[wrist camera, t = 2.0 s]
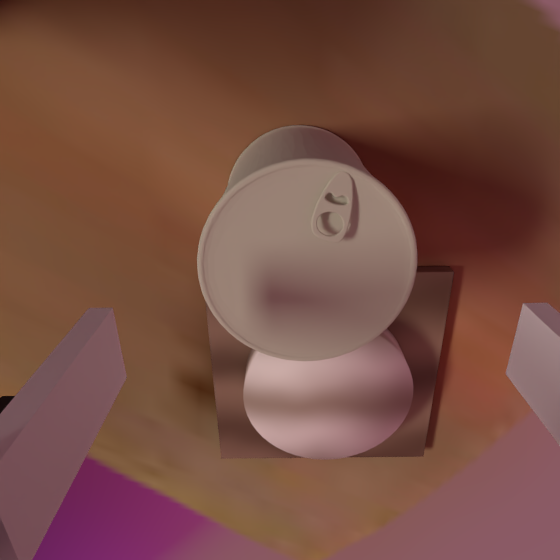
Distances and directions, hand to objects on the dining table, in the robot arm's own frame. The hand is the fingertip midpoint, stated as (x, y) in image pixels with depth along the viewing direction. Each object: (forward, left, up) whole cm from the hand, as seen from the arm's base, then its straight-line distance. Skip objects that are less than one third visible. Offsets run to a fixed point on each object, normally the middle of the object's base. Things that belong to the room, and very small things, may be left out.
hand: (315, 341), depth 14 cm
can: (-1, 0, -16) cm, 16 cm away
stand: (+13, +2, -16) cm, 21 cm away
